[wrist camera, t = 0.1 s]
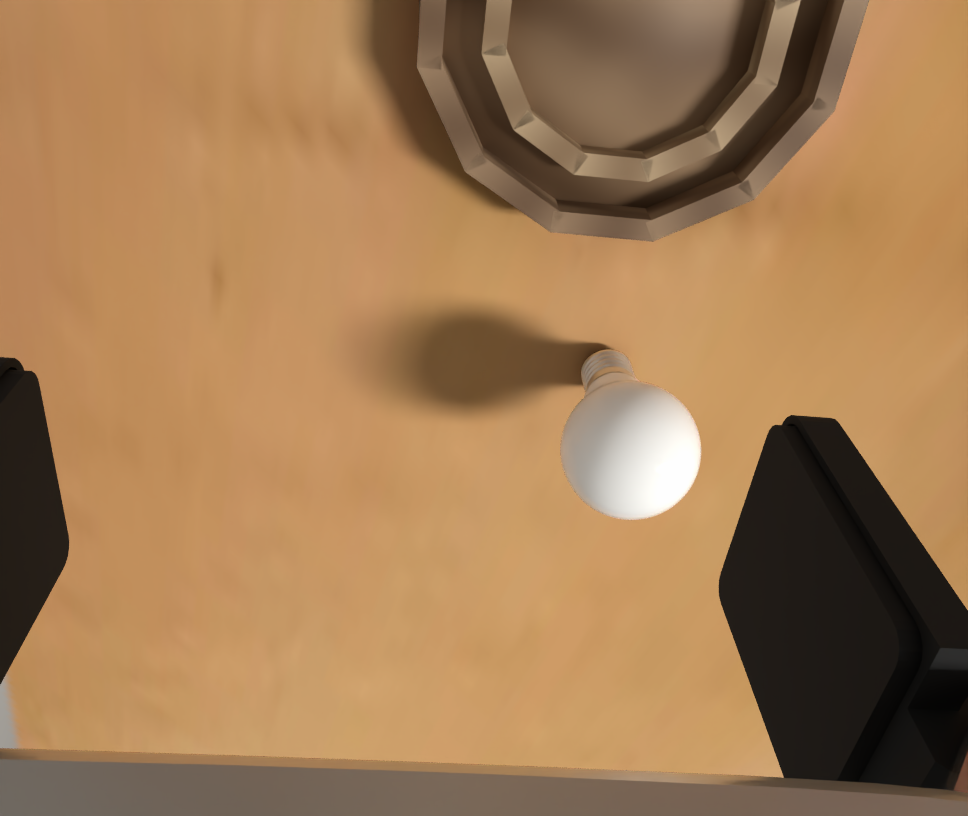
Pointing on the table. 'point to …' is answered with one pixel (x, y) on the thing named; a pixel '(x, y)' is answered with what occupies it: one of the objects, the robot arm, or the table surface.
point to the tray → (632, 101)
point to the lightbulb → (628, 442)
